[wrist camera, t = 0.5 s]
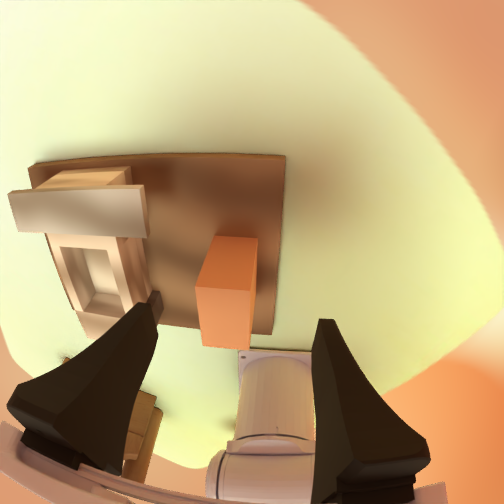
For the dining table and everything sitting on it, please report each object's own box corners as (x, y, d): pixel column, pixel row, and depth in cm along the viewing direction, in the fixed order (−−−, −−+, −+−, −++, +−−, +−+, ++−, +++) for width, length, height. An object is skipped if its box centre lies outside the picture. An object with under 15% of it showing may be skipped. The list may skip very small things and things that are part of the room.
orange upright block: (255, 294, 24) (249, 350, 19) (217, 291, 24) (202, 345, 19) (257, 238, 21) (250, 290, 16) (213, 235, 21) (194, 286, 17)
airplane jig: (272, 326, 27) (269, 373, 23) (77, 303, 28) (54, 338, 24) (285, 155, 19) (286, 183, 14) (35, 163, 20) (-6, 188, 16)
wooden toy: (69, 378, 38) (13, 512, 17) (65, 356, 35) (-3, 508, 14) (161, 417, 40) (124, 562, 20) (168, 400, 37) (126, 569, 16)
